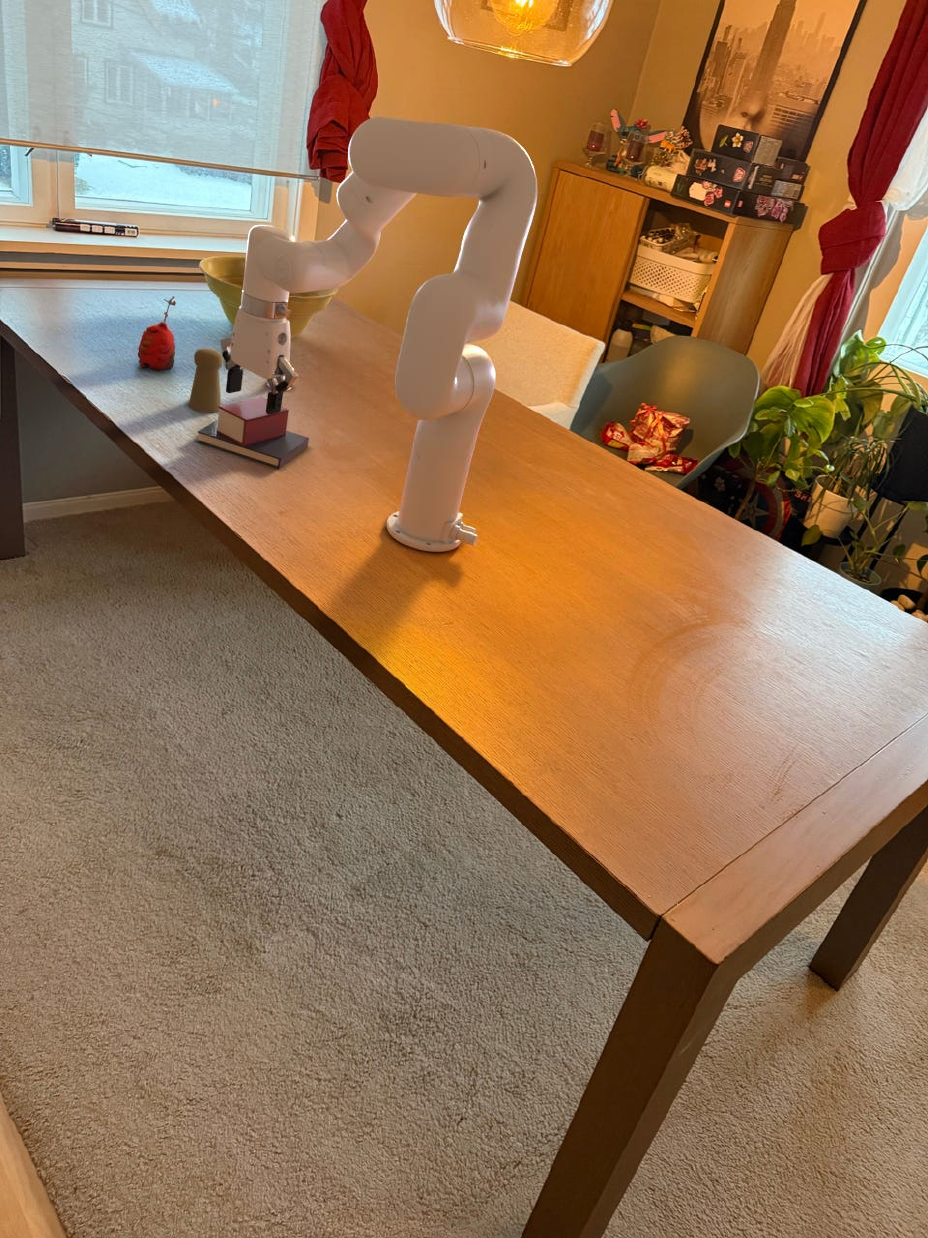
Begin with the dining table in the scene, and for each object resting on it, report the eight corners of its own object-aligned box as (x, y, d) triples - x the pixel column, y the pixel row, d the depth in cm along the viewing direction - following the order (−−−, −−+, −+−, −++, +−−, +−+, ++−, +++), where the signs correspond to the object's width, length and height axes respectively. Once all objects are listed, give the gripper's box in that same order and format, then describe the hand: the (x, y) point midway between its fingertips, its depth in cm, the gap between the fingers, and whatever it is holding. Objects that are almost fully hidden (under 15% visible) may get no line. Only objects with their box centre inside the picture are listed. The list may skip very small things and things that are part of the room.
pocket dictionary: (285, 435, 167) (288, 409, 165) (244, 446, 159) (246, 419, 156) (258, 421, 170) (261, 396, 167) (216, 432, 162) (218, 405, 159)
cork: (213, 414, 173) (217, 358, 167) (183, 406, 173) (186, 349, 167) (226, 405, 178) (231, 350, 172) (197, 397, 178) (201, 341, 172)
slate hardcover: (307, 447, 170) (309, 437, 169) (279, 468, 160) (280, 458, 158) (229, 422, 172) (230, 412, 170) (196, 441, 161) (197, 431, 160)
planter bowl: (170, 308, 220) (173, 251, 213) (284, 308, 241) (290, 256, 234) (239, 357, 202) (245, 296, 195) (356, 353, 223) (365, 297, 216)
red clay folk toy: (147, 358, 190) (149, 284, 182) (180, 366, 190) (184, 293, 182) (132, 368, 183) (134, 292, 175) (166, 376, 183) (170, 301, 176)
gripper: (317, 321, 152) (303, 417, 161) (243, 286, 158) (233, 380, 168) (286, 325, 146) (273, 424, 155) (210, 289, 153) (202, 387, 162)
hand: (253, 402), depth 161 cm, fingers open, 9 cm apart
